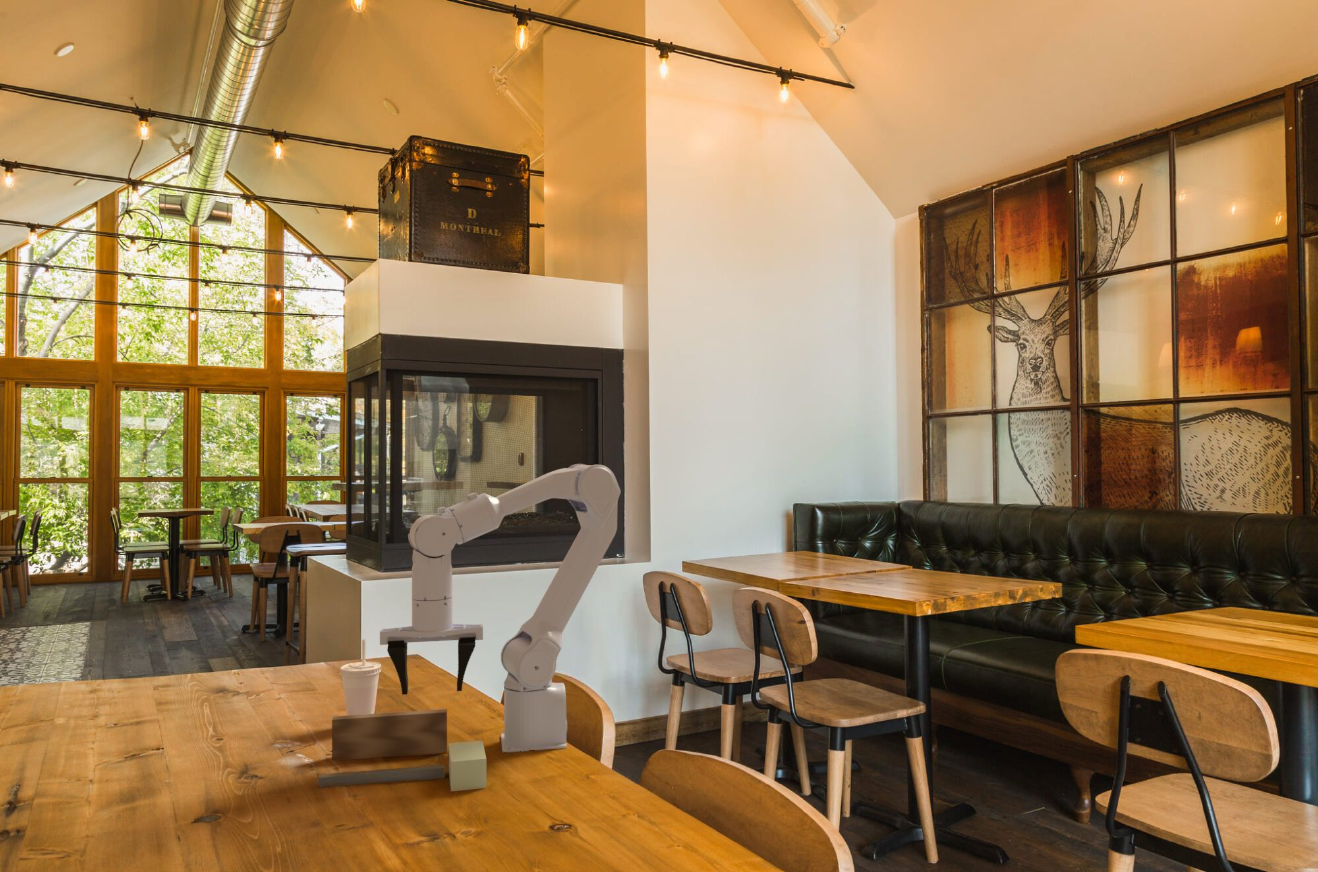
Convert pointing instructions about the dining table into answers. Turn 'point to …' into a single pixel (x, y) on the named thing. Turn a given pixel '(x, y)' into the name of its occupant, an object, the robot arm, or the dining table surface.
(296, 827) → the dining table surface
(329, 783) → the strip
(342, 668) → the smoothie
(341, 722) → the wall board
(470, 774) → the cabinet block
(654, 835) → the dining table surface
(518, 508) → the robot arm
